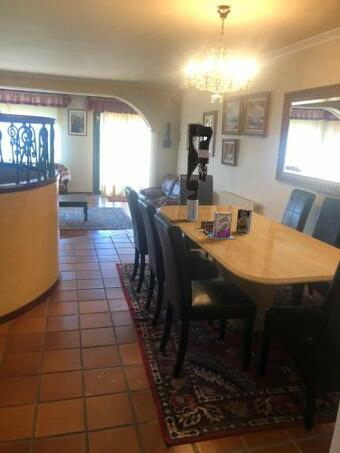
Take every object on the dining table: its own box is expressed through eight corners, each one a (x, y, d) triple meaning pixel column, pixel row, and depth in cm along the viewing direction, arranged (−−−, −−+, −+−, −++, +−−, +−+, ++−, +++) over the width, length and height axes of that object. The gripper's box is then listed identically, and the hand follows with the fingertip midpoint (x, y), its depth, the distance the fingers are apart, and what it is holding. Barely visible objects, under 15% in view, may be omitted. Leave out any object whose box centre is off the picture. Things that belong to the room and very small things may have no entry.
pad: (207, 235, 252) (207, 234, 252) (230, 235, 255) (230, 234, 255) (211, 239, 243) (211, 238, 242) (235, 239, 246) (235, 238, 245)
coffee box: (235, 231, 268) (237, 209, 264) (238, 229, 274) (240, 208, 270) (247, 233, 264) (250, 211, 260) (250, 231, 269) (252, 209, 266)
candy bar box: (214, 237, 245) (216, 213, 242) (212, 235, 250) (214, 211, 247) (230, 237, 247) (232, 213, 244) (228, 235, 252) (230, 211, 248)
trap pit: (203, 231, 263) (203, 229, 262) (224, 231, 266) (225, 229, 265) (207, 235, 253) (207, 232, 253) (229, 235, 256) (229, 232, 256)
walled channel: (200, 227, 274) (200, 221, 273) (218, 227, 277) (219, 221, 276) (204, 231, 264) (204, 224, 263) (223, 231, 266) (223, 224, 265)
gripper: (195, 156, 255) (194, 179, 259) (200, 157, 241) (199, 181, 245) (206, 156, 256) (204, 179, 260) (211, 157, 243) (210, 182, 246)
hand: (201, 180), depth 252 cm, fingers open, 8 cm apart
